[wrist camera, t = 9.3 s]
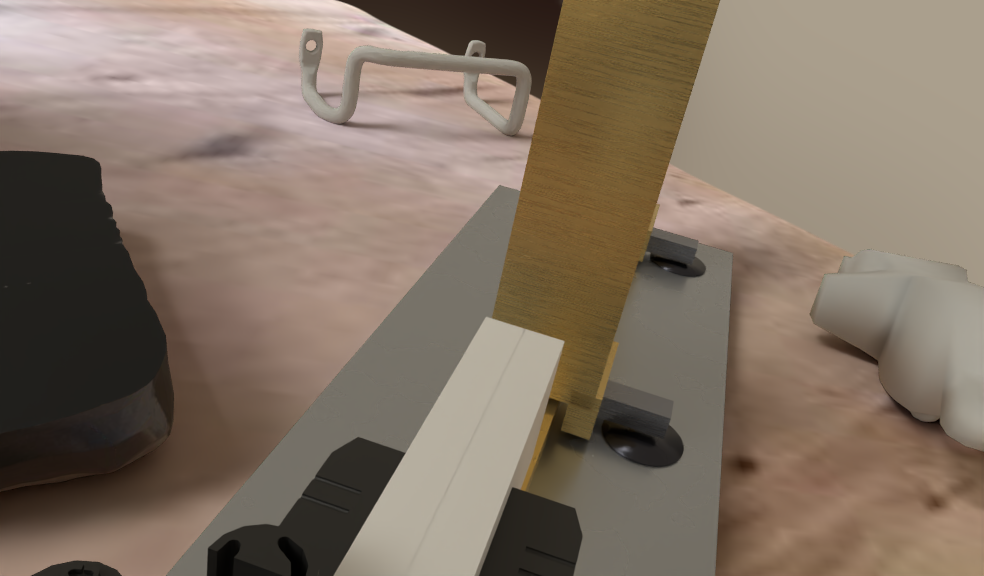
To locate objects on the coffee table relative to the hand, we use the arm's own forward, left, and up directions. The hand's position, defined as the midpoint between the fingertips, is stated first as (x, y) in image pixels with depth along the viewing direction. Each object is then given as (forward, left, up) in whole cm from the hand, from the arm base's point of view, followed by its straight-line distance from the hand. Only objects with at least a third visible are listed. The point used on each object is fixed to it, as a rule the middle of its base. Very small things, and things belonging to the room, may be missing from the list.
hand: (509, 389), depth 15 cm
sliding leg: (+1, +9, -6) cm, 11 cm away
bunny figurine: (+15, +20, -8) cm, 26 cm away
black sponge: (-17, +5, -8) cm, 19 cm away
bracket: (-15, +37, -8) cm, 41 cm away
